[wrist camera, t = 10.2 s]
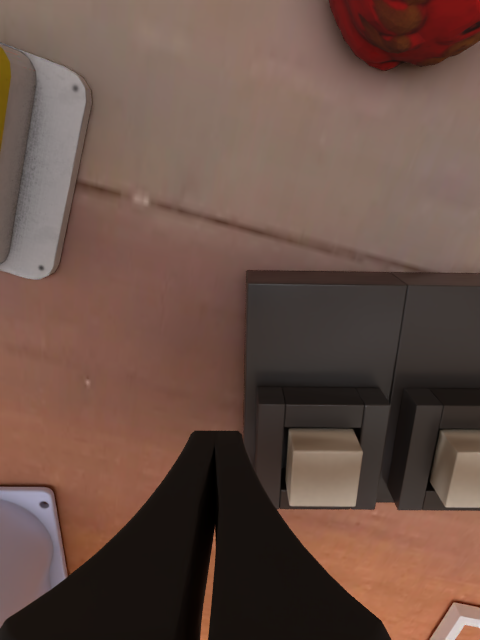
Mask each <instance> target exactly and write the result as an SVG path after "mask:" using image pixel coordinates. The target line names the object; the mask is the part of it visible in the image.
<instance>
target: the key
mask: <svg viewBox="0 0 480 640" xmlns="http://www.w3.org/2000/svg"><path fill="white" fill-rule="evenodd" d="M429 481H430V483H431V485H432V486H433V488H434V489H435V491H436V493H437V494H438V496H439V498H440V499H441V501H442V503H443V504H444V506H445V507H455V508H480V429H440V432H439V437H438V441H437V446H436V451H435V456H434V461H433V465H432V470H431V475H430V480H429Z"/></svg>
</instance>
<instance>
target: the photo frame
mask: <svg viewBox="0 0 480 640" xmlns="http://www.w3.org/2000/svg"><path fill="white" fill-rule="evenodd" d="M464 625H469V626H474V627H479V628H480V608H479V607H475V606H470V605H465V604H460V603H455V602H454V603H453V604H452V606H451V607H450V609H449V610H448V612H447V613H446V615H445V617H444V618H443V620H442V621H441V623H440V624H439V626H438V627H437V629H436V630H435V632H434V634H433V635H432V637H431V638H430V640H455V639H456V637H457V636H458V634H459V633H460V631H461V630H462V628H463V627H464Z"/></svg>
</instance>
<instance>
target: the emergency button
mask: <svg viewBox="0 0 480 640" xmlns="http://www.w3.org/2000/svg"><path fill="white" fill-rule="evenodd" d="M91 106H92V97H91V89H90V88H89V86H88V85H87V83H86V81H85V80H84V78H83V77H81V76H80V75H78V74H77V73H75V72H74V71H72V70H71V69H69V68H67V67H64V66H62V65H59V64H57V63H54V62H51V61H49V60H46V59H43V58H41V57H38V56H35V55H33V54H30V53H27V52H25V51H22V50H19V49H17V48H14V47H11V46H9V45H6V44H3V43H1V42H0V270H1V271H4V272H7V273H11V274H14V275H17V276H20V277H23V278H27V279H38V280H39V279H41V278H43V277H46V276H48V275H50V274H52V273H54V272H55V271H56V269H57V267H58V266H59V263H60V258H61V253H62V248H63V243H64V238H65V233H66V229H67V224H68V219H69V214H70V209H71V204H72V199H73V194H74V189H75V184H76V179H77V174H78V170H79V165H80V160H81V155H82V150H83V145H84V140H85V135H86V130H87V125H88V120H89V115H90V111H91Z"/></svg>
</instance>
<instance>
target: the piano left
mask: <svg viewBox="0 0 480 640" xmlns="http://www.w3.org/2000/svg"><path fill="white" fill-rule="evenodd" d="M406 290H407V285H406V284H404V283H403V282H402V281H400V280H399V279H398V278H396V277H395V276H393V275H392V274H391V273H389V272H329V271H253V270H248V271H246V304H245V352H244V400H243V443H244V446H245V449H246V452H247V454H248V457H249V459H250V462H251V464H252V466H253V468H254V470H255V472H256V474H257V476H258V478H259V480H260V482H261V484H262V486H263V488H264V490H265V491H266V493H267V495H268V497H269V498H270V500H271V502H272V503H273V505H274V506H275V508H276V509H279V508H280V509H350V508H351V509H365V510H374V509H375V504H376V498H377V492H378V485H379V479H380V473H381V466H382V460H383V454H384V447H385V441H386V435H387V428H388V422H389V416H390V409H391V405H390V403H389V400H390V393H391V387H392V380H393V374H394V367H395V361H396V354H397V348H398V342H399V335H400V329H401V322H402V316H403V309H404V303H405V297H406ZM289 428H345V429H353V430H354V432H355V435H356V437H357V439H358V442H359V444H360V446H361V448H362V451H363V456H362V463H361V471H360V478H359V485H358V492H357V500H356V506H354V507H336V506H290V505H289V500H288V494H287V487H286V481H285V477H286V461H287V446H288V430H289Z"/></svg>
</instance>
